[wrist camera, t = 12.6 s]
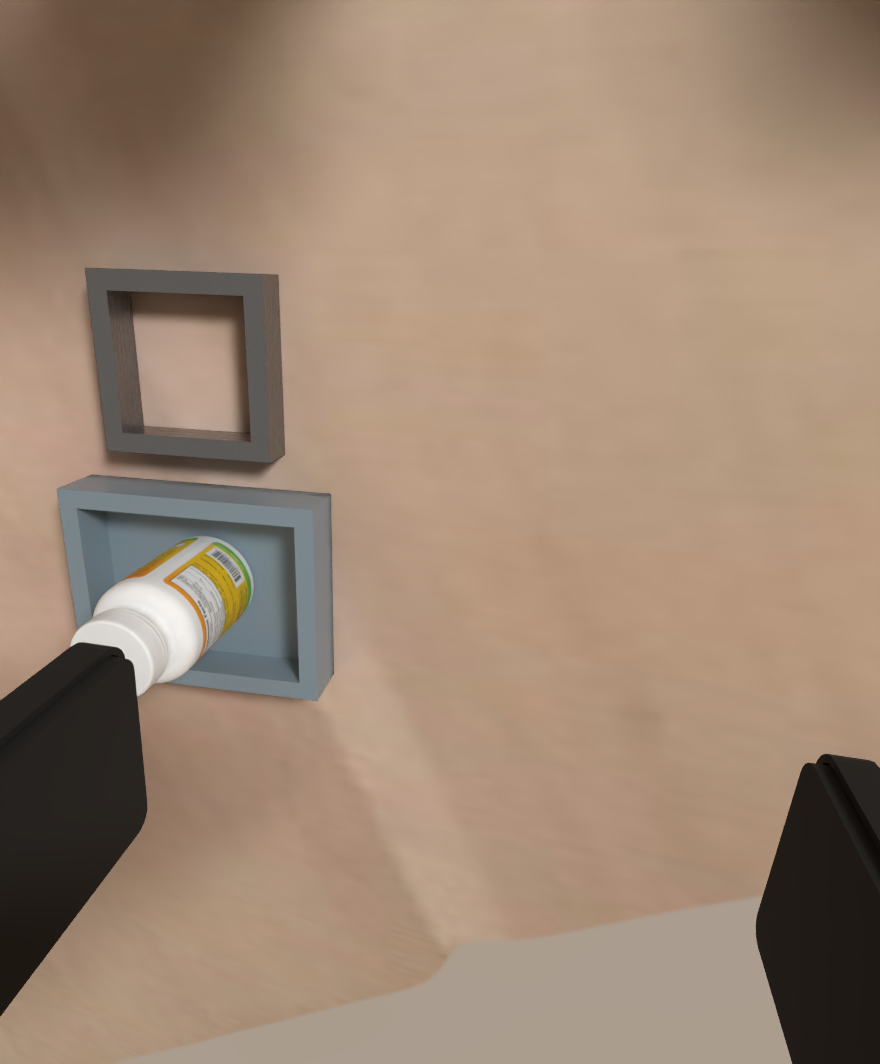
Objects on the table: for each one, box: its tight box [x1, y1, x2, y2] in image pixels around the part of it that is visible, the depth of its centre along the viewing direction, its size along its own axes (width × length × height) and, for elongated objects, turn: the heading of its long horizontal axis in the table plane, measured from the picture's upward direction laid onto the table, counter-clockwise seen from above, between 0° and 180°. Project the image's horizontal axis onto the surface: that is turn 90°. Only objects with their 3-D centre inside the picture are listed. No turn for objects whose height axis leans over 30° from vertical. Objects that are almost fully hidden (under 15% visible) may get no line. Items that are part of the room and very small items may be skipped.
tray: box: [57, 475, 334, 701], centre depth 40 cm, size 11×14×3 cm
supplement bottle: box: [70, 536, 254, 696], centre depth 36 cm, size 5×5×10 cm
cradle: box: [85, 268, 285, 463], centre depth 36 cm, size 9×9×2 cm
